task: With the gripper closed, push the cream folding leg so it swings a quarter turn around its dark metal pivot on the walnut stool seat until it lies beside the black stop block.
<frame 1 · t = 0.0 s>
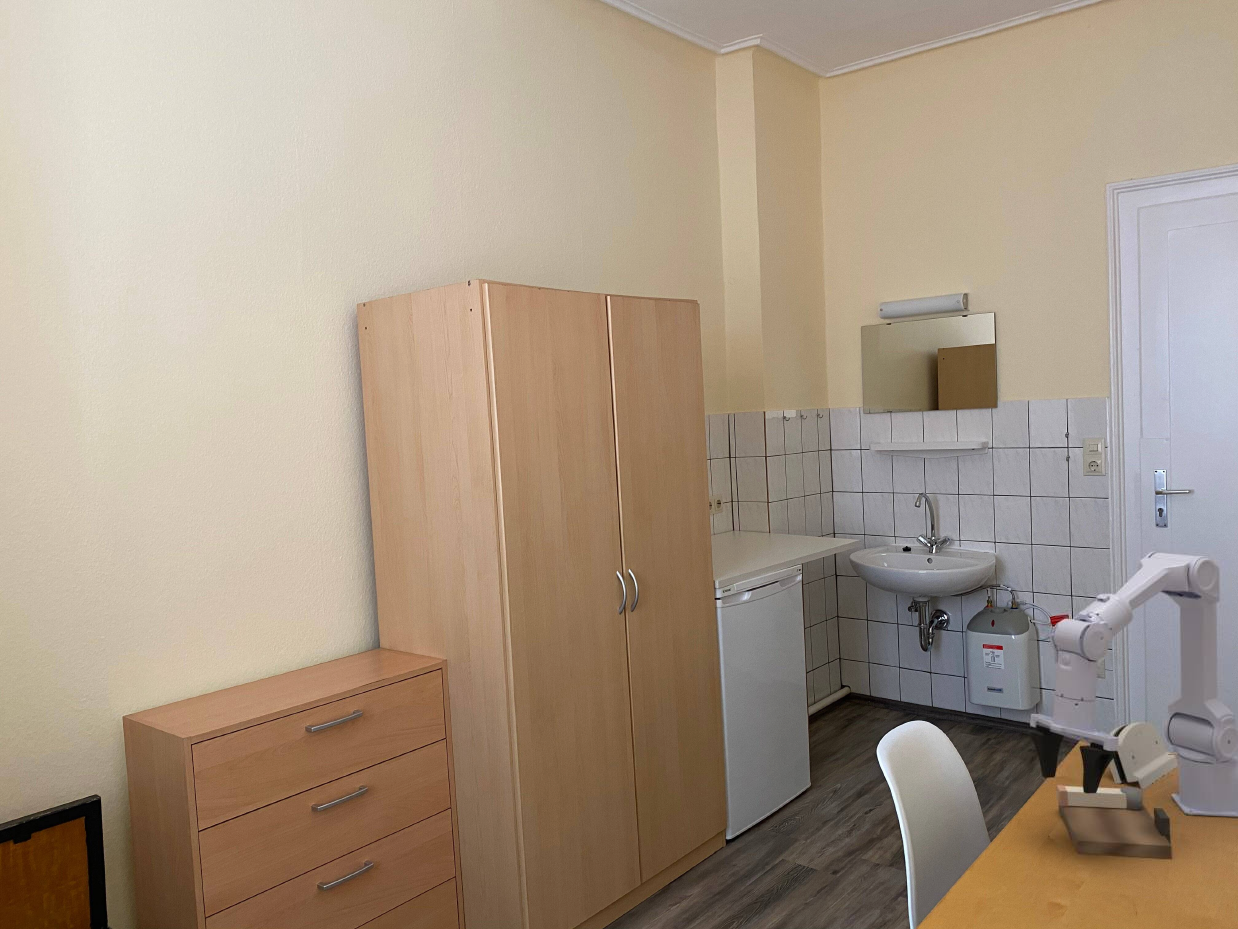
hand: (1068, 784, 144), 11 cm above the table, tool pointing down, fingers open, 7 cm apart
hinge: (1140, 773, 174), on the table
folding leg: (1099, 797, 156), point 3 cm above the table, hinge at 0.0°
stool seat: (1111, 833, 150), on the table
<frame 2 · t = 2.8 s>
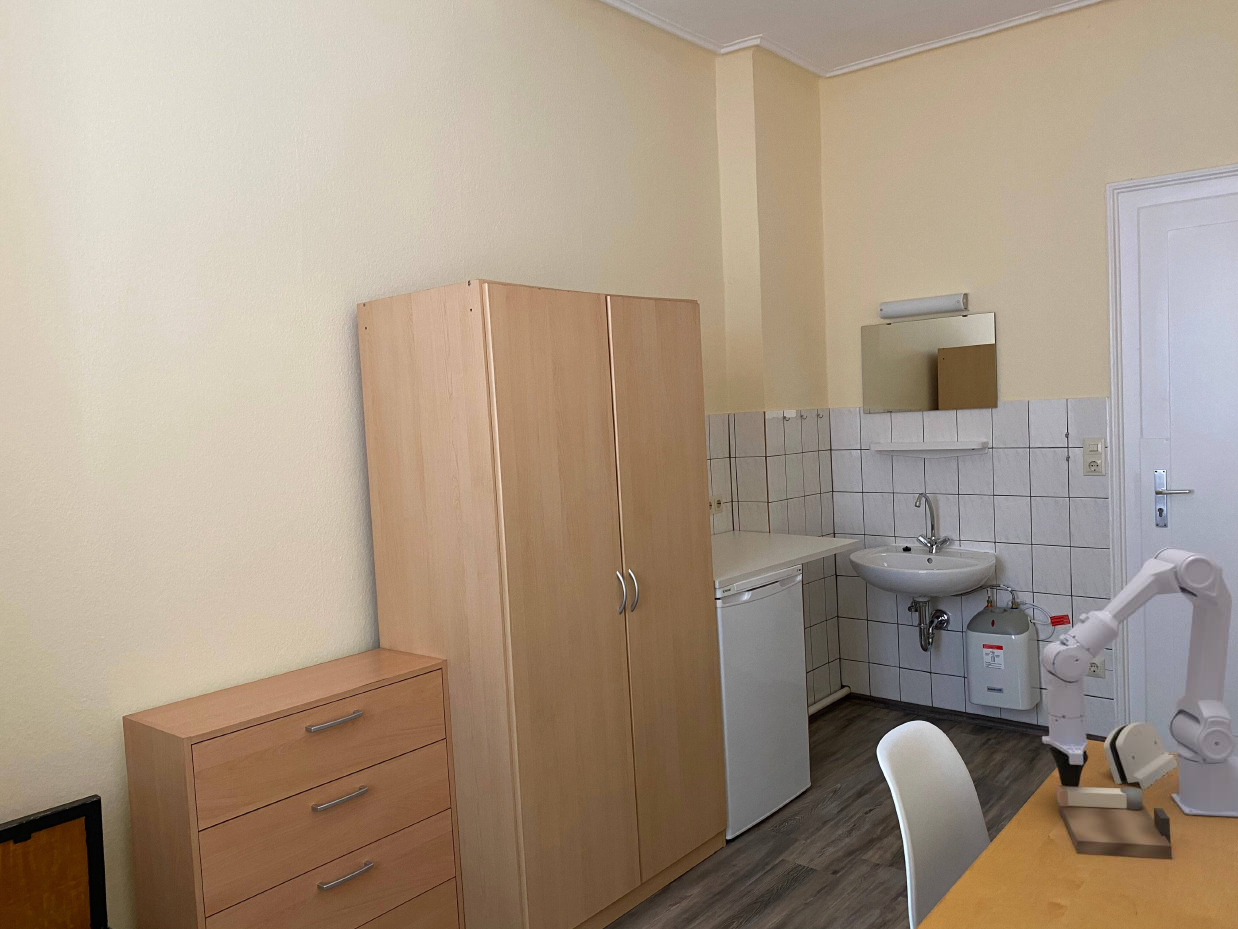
hand: (1070, 791, 159), 3 cm above the table, tool pointing down, fingers closed
folding leg: (1099, 797, 156), point 3 cm above the table, hinge at 0.4°, touching gripper
everything else where it was.
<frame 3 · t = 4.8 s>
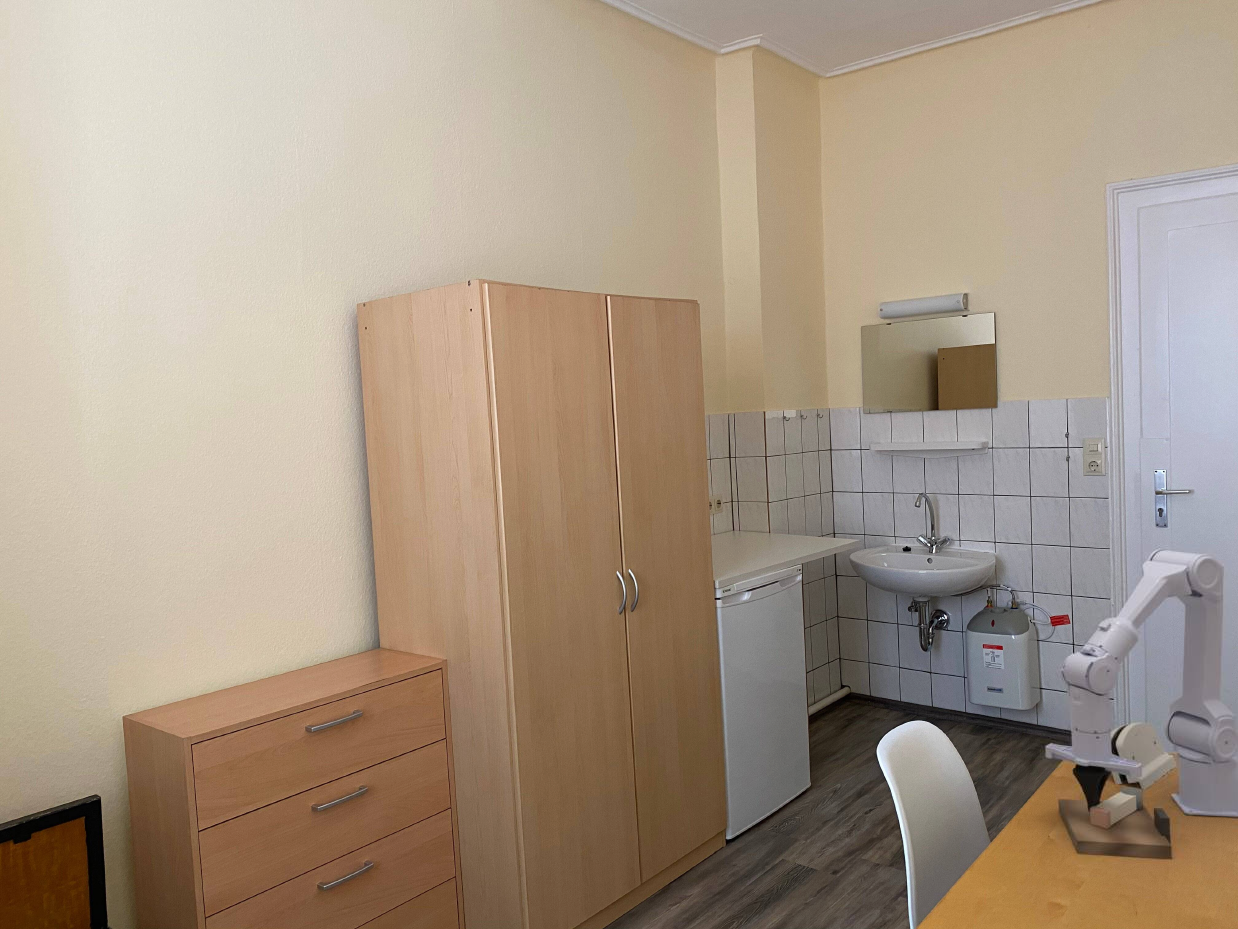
hand: (1094, 810, 151), 3 cm above the table, tool pointing down, fingers closed
folding leg: (1117, 806, 152), point 3 cm above the table, hinge at 52.7°, touching gripper
everything else where it was.
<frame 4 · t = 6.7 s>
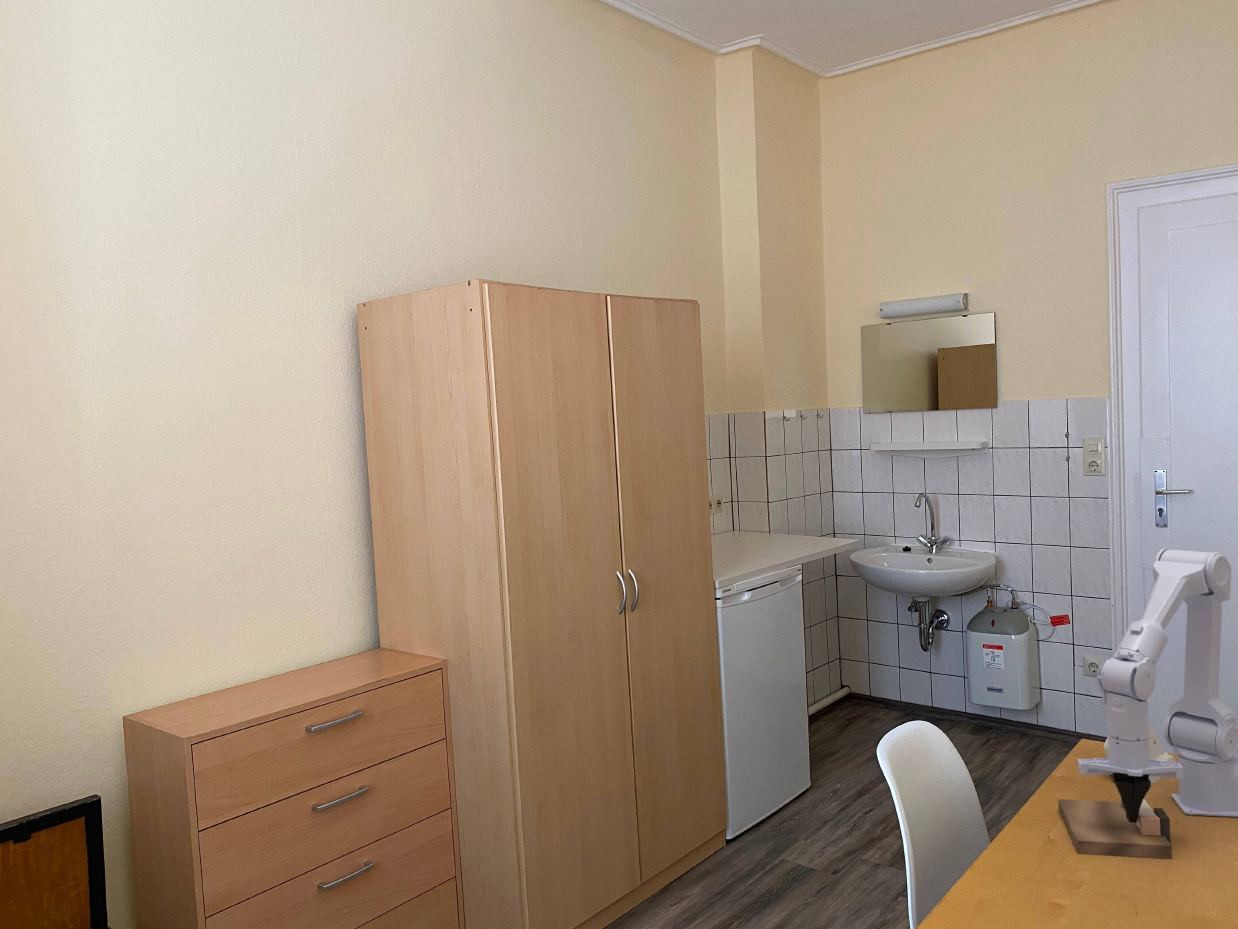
hand: (1131, 820, 147), 3 cm above the table, tool pointing down, fingers closed
folding leg: (1139, 810, 150), point 3 cm above the table, hinge at 90.6°, touching gripper
everything else where it was.
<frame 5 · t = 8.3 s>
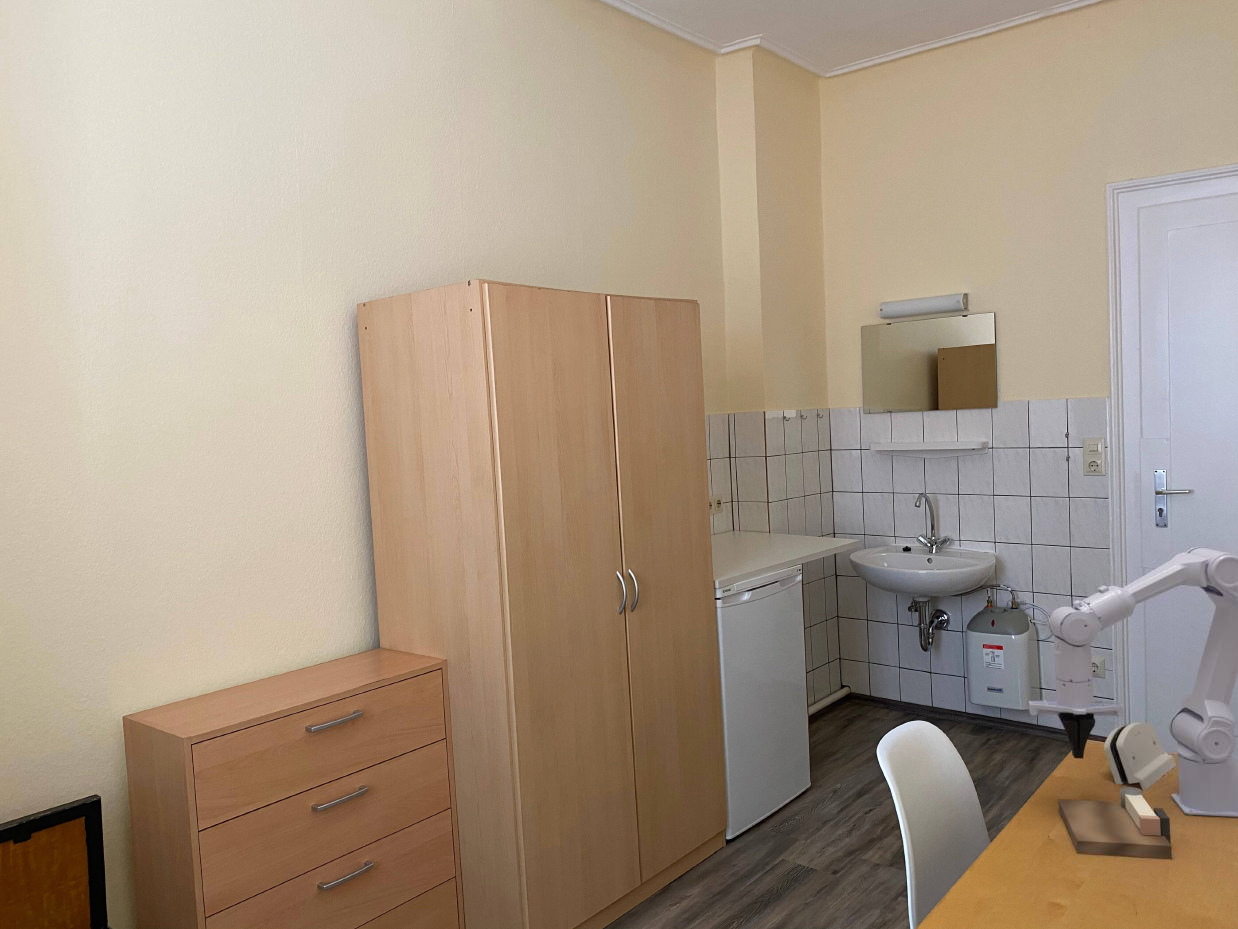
hand: (1077, 756, 159), 9 cm above the table, tool pointing down, fingers closed
folding leg: (1139, 810, 150), point 3 cm above the table, hinge at 90.6°
everything else where it was.
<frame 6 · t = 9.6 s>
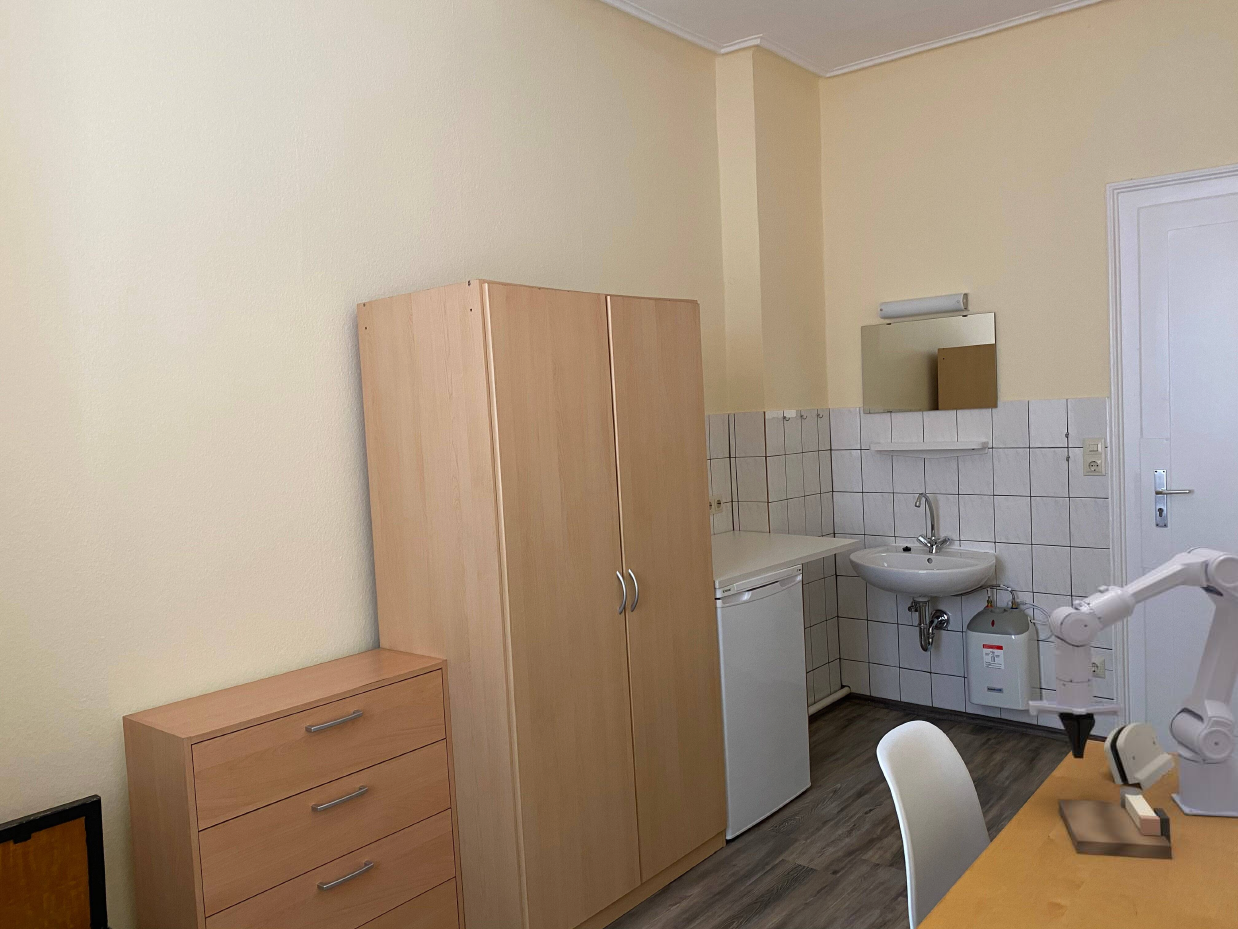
hand: (1077, 756, 159), 9 cm above the table, tool pointing down, fingers closed
nothing on the table moved.
at the end: folding leg at +91° (first picture: +0°); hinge moved 0.7 cm from its start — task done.
